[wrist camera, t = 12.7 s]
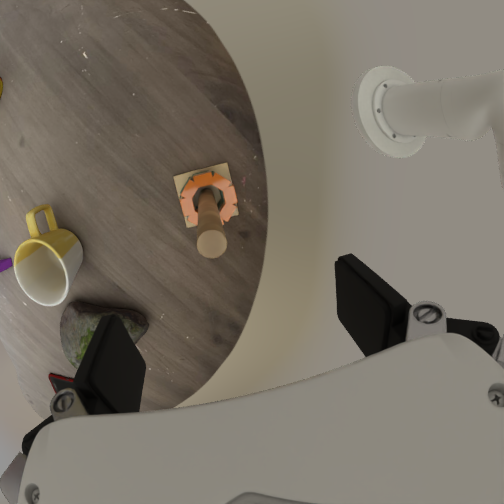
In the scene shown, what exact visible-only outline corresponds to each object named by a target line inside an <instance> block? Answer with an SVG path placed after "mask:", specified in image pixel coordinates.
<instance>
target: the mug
mask: <svg viewBox="0 0 504 504" xmlns="http://www.w3.org/2000/svg"><path fill="white" fill-rule="evenodd" d="M41 210H44V212H45V215H46V218H47V221H48V225H49V229H50V232H47V233H44V234H41V233H40V231H39V229H38V227H37V224H36V219H35V214H36V213H38V212H39V211H41ZM26 221H27V225H28V229H29V232H30V236H31V239H28V240H26V241H24V242H23V243H22V244H21V245H20V246H19V247H18V249H17V251H16V254H15V258H14V270H15V275H16V278H17V280H18V283H19V285H20V286H21V288H22V289H23V291H24V292H25V293H26V294H27V295H28V296H29V297H30V298H31V299H32V300H33V301H35V302H37V303H39V304H41V305H44V306H55V305H58V304H60V303H61V302H62V301H63V300H64V299H65V297H66V296H67V294H68V292H69V289H70V287H71V285H72V283H73V280H74V278H75V276H76V274H77V272H78V270H79V268H80V266H81V264H82V261H83V249H82V246H81V243H80V241H79V240H78V238H77V237H76V236H75V235H74V234H73V233H72V232H70V231H68V230H66V229H58V226H57V223H56V220H55V217H54V213H53V210H52V208H51V206H50V205H48V204H45V205H40V206H38V207H35V208H33V209H32V210H30V211H29V212H28V213H27V215H26Z"/></svg>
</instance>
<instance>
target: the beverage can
mask: <svg viewBox="0 0 504 504" xmlns="http://www.w3.org/2000/svg"><path fill="white" fill-rule="evenodd" d="M2 89H3V82H2V78H1V77H0V98H1V95H2Z"/></svg>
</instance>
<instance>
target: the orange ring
mask: <svg viewBox="0 0 504 504" xmlns="http://www.w3.org/2000/svg"><path fill="white" fill-rule="evenodd" d="M208 185H213V186H215V187H216V188H218V189H220V190H221V191H222V194H223V198H224V201H223V202H222V204H221V206H220V207H219V209H218V211H219V214H220V218H221V222H222V225H224V222H223V220H224V221H226V222H228V221H229V219H230V218H231V216H232V214H233V213H234V211H235V210H236V208H237V206H236V205H235V204H236V203H238V201H237V197H236V192H235V188H234V185H233V184H232V183H231V181H230V180H229V179H227V178H225V177H224V176H222V175H220V174H219V173H217V172H215V171H214V173H213V175H212V173H211V171H207V172H203V173H199V174H196V175H194V176H193V179H192V178H190V179H189V180H188V182H187V184H186V185H185V187H184V189H183V191H182V192H181V194H180V196H181V198H180V203H181V207H182V211H183V214H184V217H186V216H188V217H187V221H189V222H191V223H193V224H195V225H196V226H197V224H198V208H196V207H195V203H194V199H193V197H194V195H195V193H196V192H197V190H198V188H200V187H204V186H208Z"/></svg>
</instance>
